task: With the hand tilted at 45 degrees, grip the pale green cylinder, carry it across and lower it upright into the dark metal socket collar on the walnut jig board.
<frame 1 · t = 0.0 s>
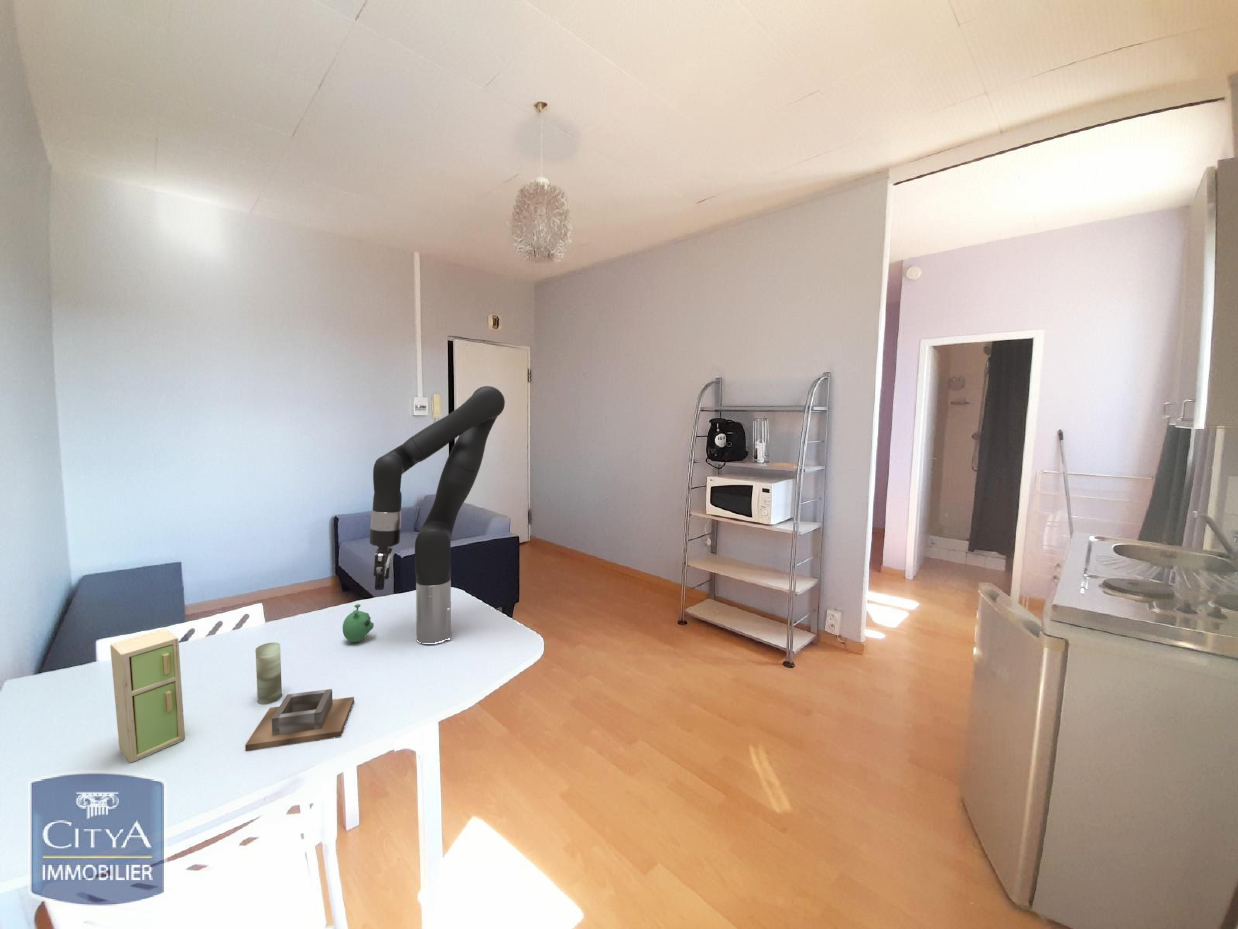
hand: (382, 584, 132), 17 cm above the table, tool pointing down, fingers open, 8 cm apart
toy refrigerator: (152, 746, 91), on the table
jig: (304, 724, 98), on the table
alien toy: (358, 641, 134), on the table
pale green cylinder: (269, 698, 107), on the table
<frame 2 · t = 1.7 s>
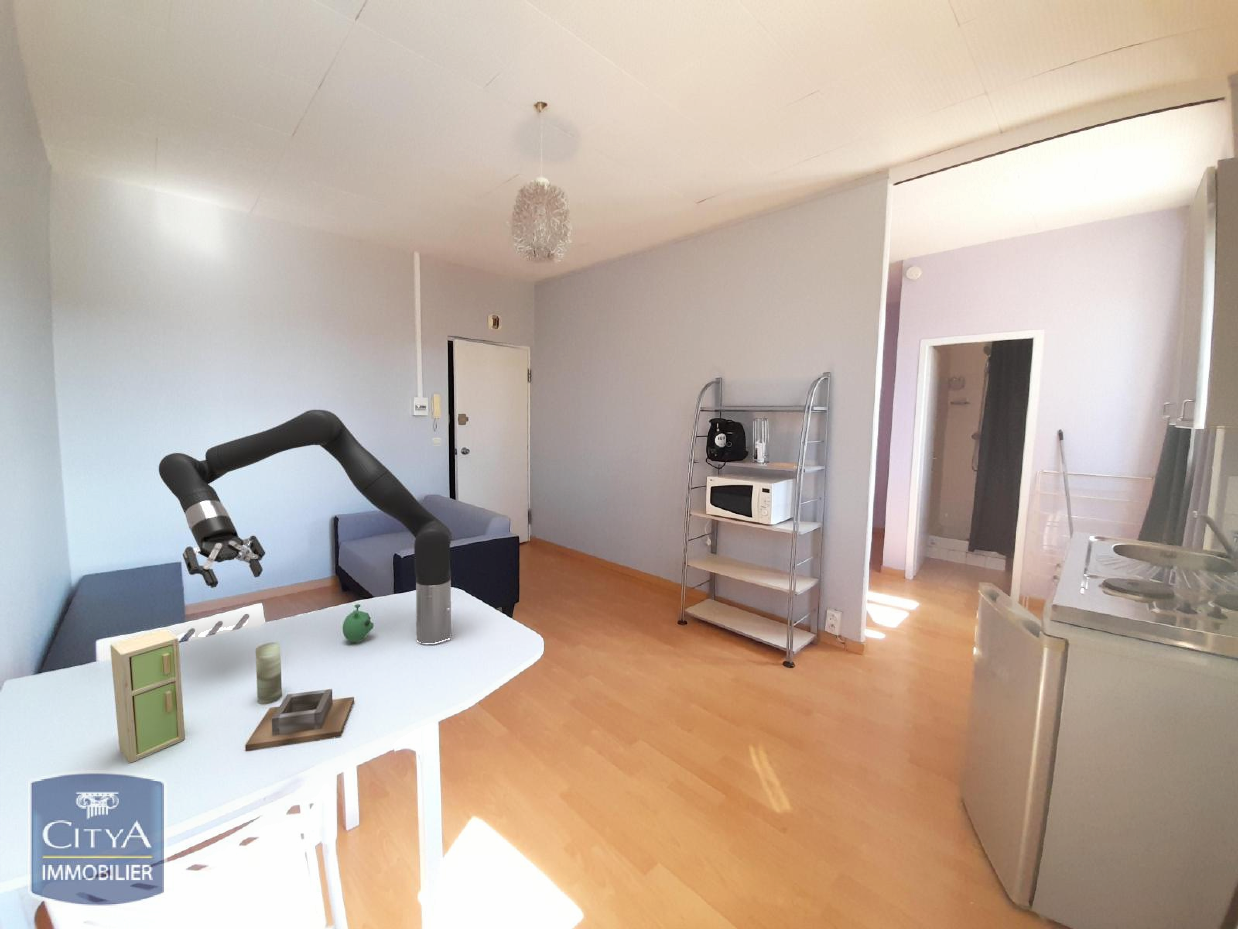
hand: (237, 580, 110), 25 cm above the table, tool tilted 45°, fingers open, 8 cm apart
nothing on the table moved.
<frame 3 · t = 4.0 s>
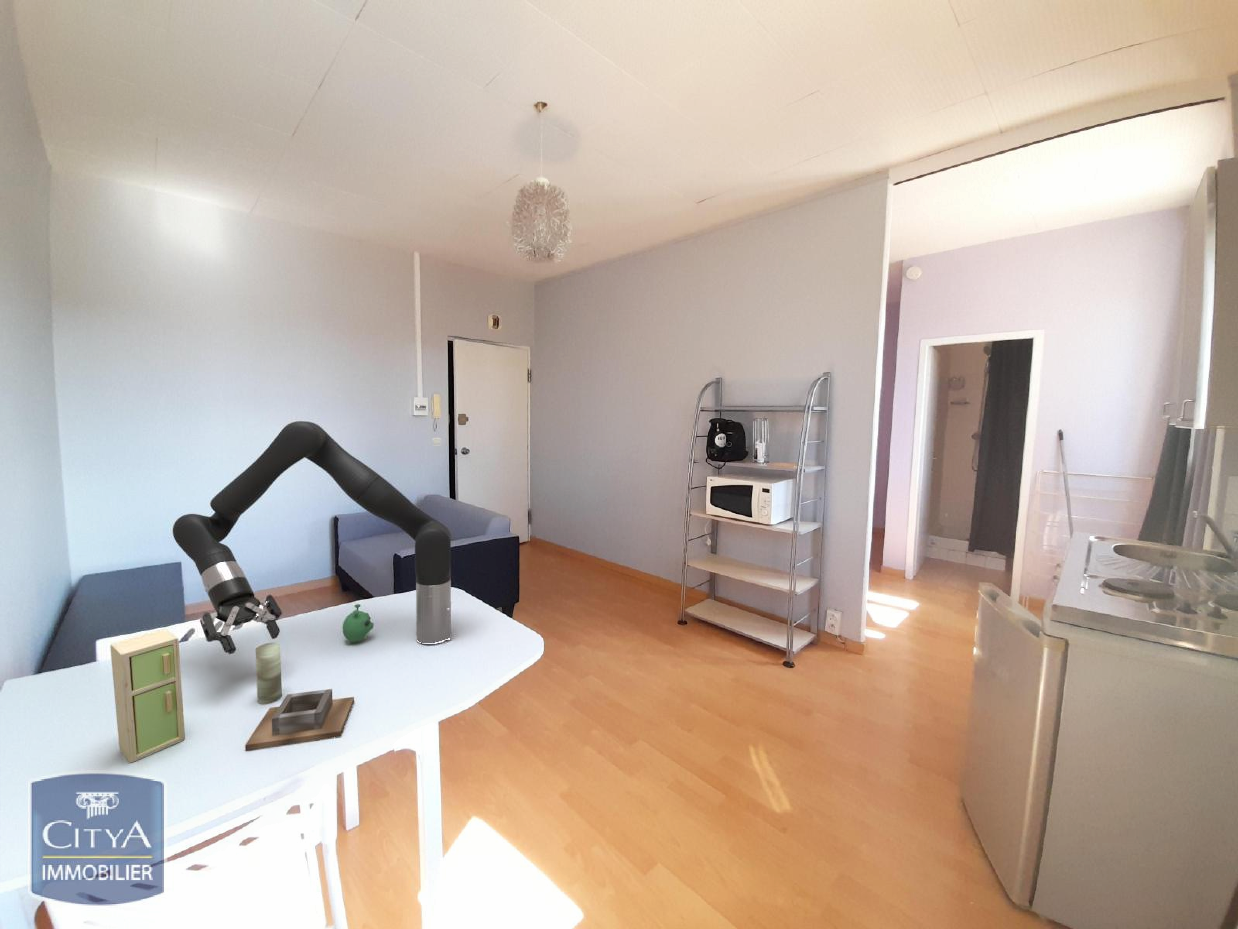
hand: (255, 644, 108), 11 cm above the table, tool tilted 45°, fingers open, 8 cm apart
nothing on the table moved.
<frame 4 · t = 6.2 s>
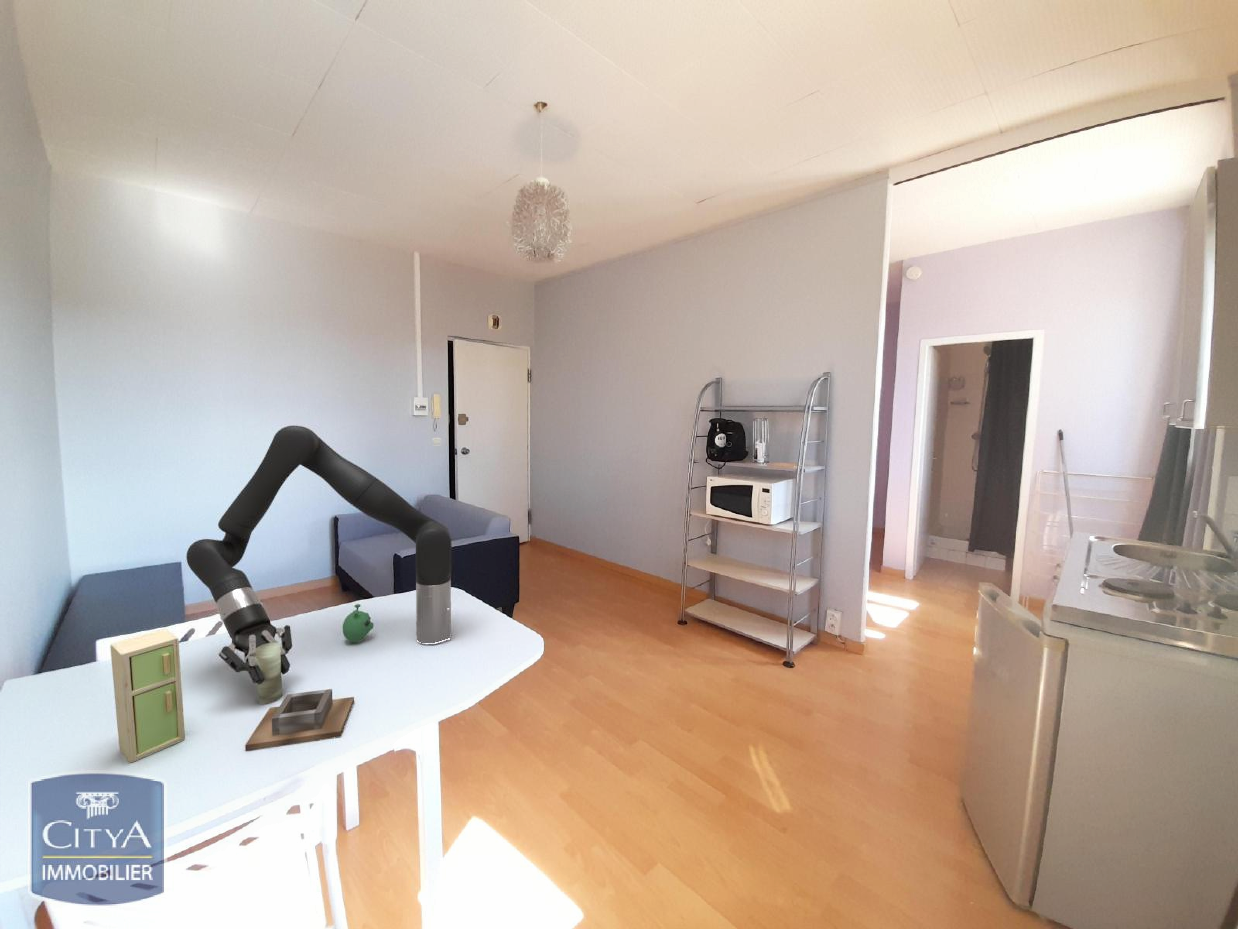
hand: (274, 676, 105), 6 cm above the table, tool tilted 45°, fingers closed on pale green cylinder, 4 cm apart
pale green cylinder: (270, 698, 107), on the table, touching gripper
everything else where it was.
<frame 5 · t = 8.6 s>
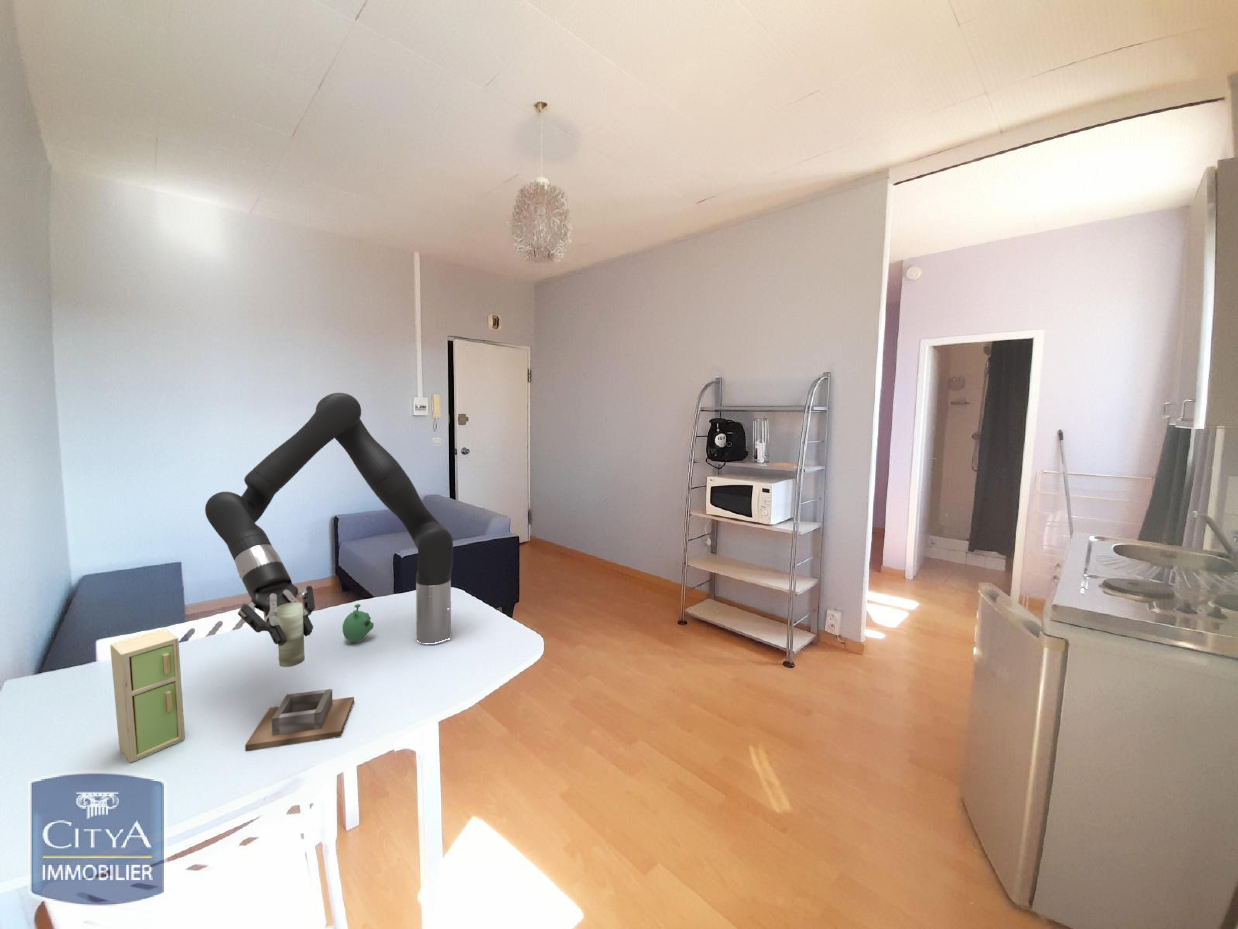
hand: (296, 638, 98), 18 cm above the table, tool tilted 45°, fingers closed on pale green cylinder, 4 cm apart
pale green cylinder: (292, 661, 100), point 12 cm above the table, touching gripper
everything else where it was.
when the fingers open (8 cm above the table, at t = 11.2 s): pale green cylinder drops 1 cm, resting on jig.
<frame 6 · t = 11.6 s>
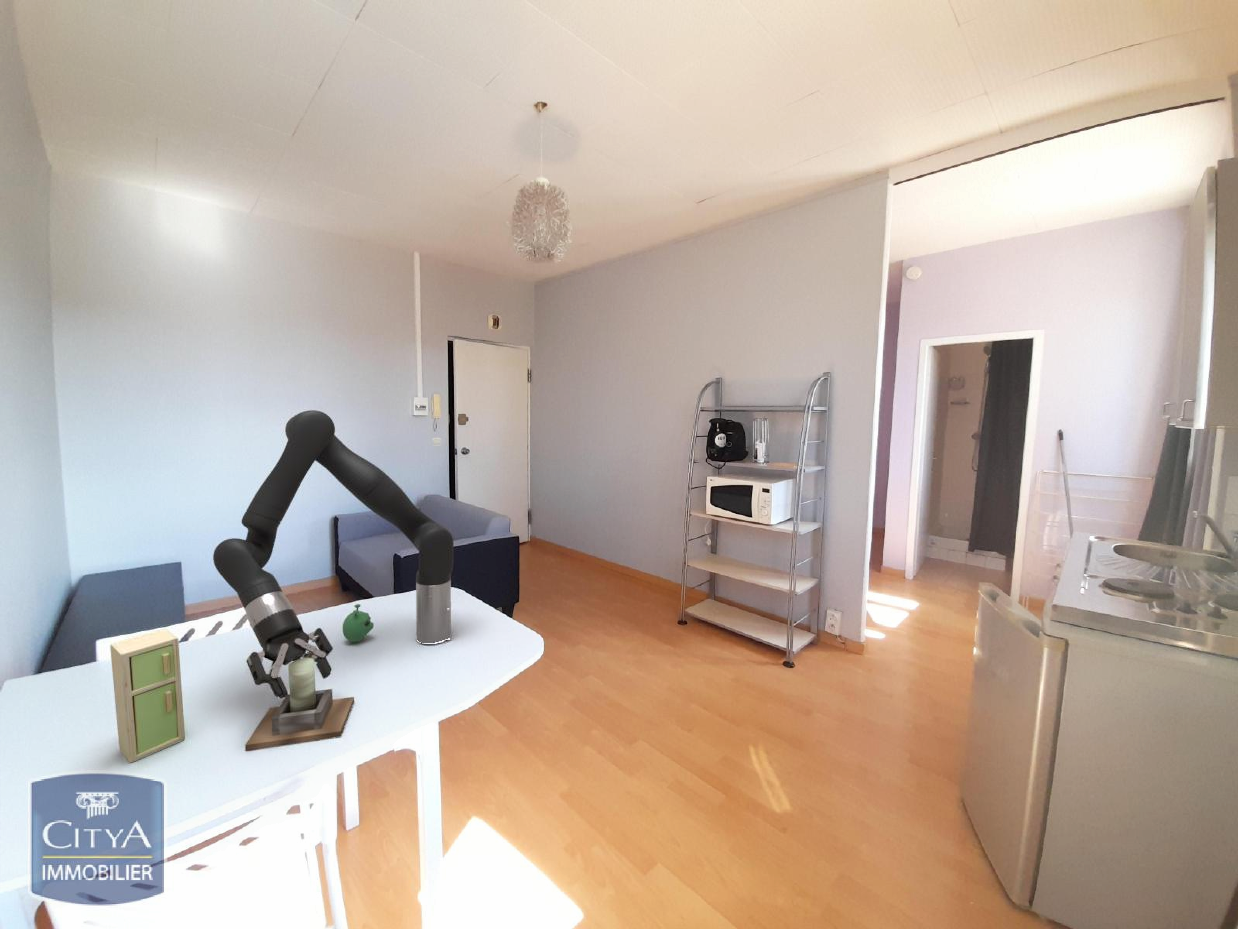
hand: (306, 686, 97), 9 cm above the table, tool tilted 45°, fingers open, 8 cm apart
pale green cylinder: (304, 718, 98), point 1 cm above the table, touching jig
everything else where it was.
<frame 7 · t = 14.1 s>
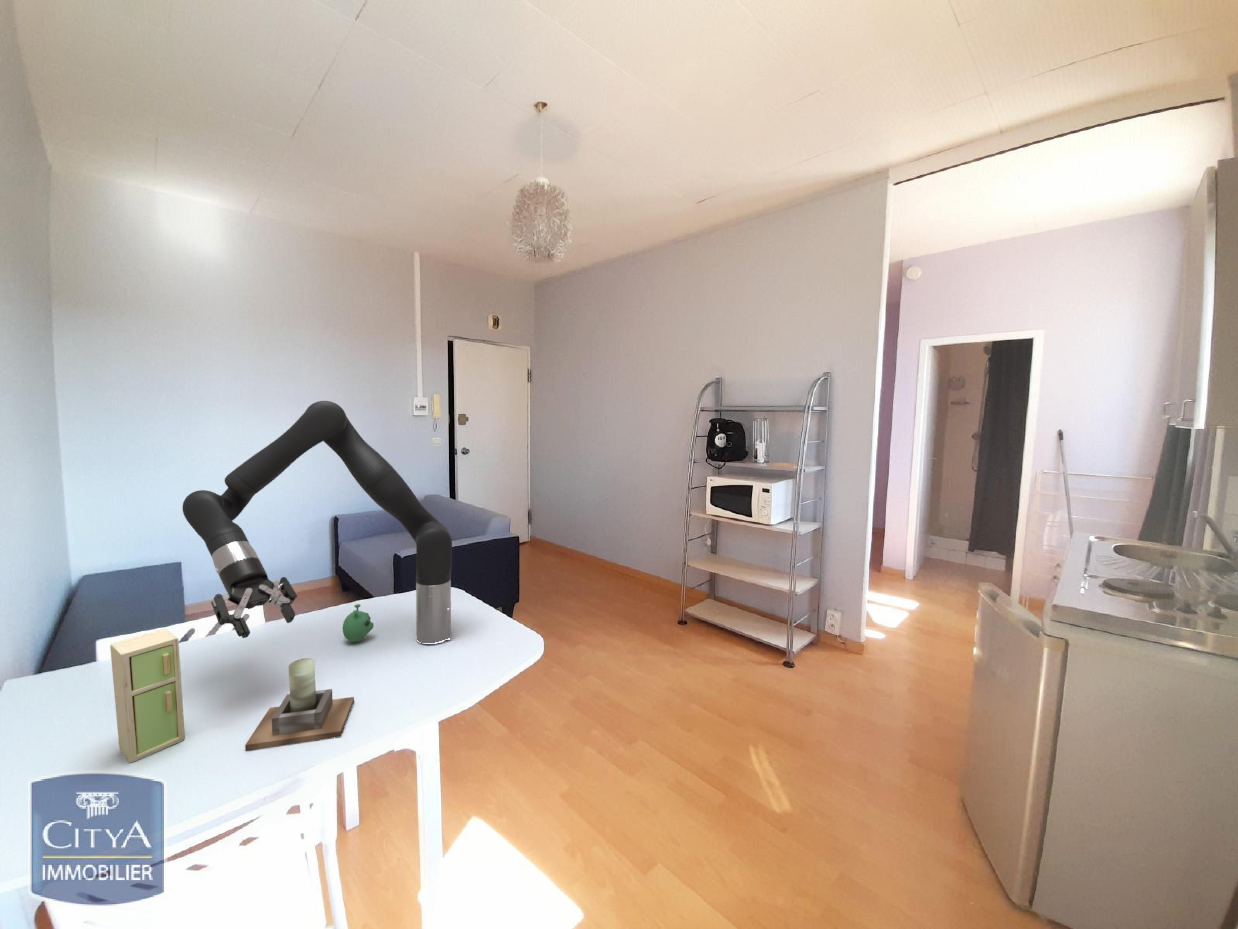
hand: (269, 628, 102), 18 cm above the table, tool tilted 45°, fingers open, 8 cm apart
nothing on the table moved.
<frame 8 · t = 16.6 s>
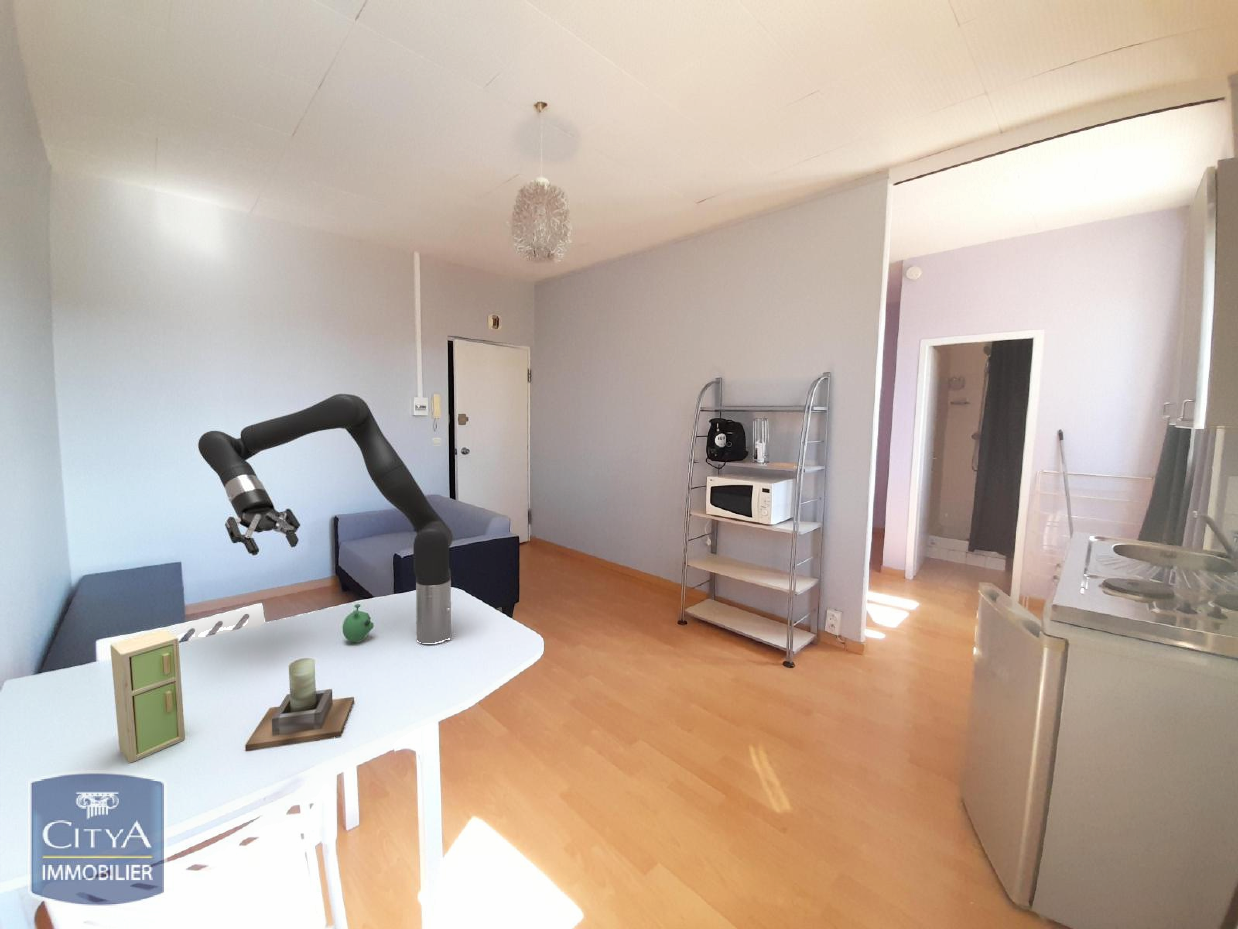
hand: (276, 549, 115), 31 cm above the table, tool tilted 45°, fingers open, 8 cm apart
nothing on the table moved.
at the end: pale green cylinder 0.1 cm off-centre on the jig, point 1.2 cm above the jig's base; pale green cylinder tilted 1°; the gripper is holding nothing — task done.
